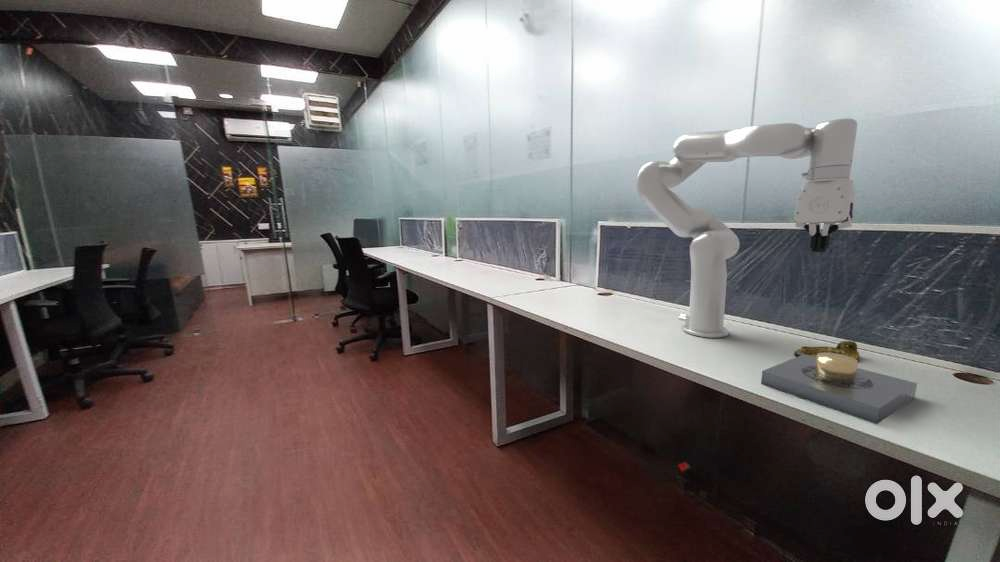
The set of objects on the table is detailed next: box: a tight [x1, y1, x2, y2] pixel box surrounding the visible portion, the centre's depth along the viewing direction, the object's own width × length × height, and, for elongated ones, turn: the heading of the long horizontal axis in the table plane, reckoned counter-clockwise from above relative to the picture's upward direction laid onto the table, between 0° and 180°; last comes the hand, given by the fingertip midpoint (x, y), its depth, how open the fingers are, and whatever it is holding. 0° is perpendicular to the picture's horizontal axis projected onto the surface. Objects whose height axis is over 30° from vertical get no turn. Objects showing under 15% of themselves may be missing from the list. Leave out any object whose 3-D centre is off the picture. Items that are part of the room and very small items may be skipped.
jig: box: [760, 354, 918, 425], centre depth 73 cm, size 18×18×3 cm
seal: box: [793, 340, 861, 362], centre depth 90 cm, size 9×5×15 cm
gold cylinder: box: [815, 352, 859, 383], centre depth 72 cm, size 6×6×7 cm
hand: (818, 251), depth 88 cm, fingers closed
